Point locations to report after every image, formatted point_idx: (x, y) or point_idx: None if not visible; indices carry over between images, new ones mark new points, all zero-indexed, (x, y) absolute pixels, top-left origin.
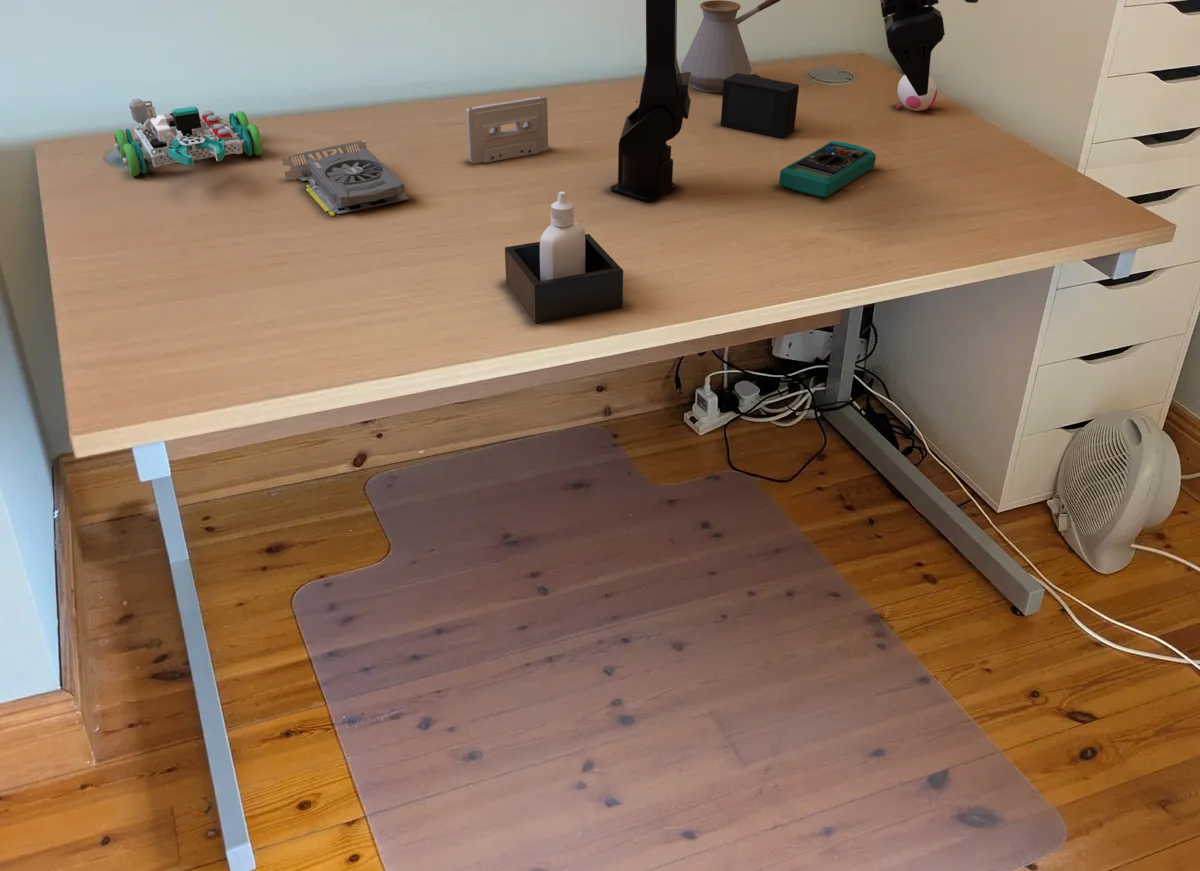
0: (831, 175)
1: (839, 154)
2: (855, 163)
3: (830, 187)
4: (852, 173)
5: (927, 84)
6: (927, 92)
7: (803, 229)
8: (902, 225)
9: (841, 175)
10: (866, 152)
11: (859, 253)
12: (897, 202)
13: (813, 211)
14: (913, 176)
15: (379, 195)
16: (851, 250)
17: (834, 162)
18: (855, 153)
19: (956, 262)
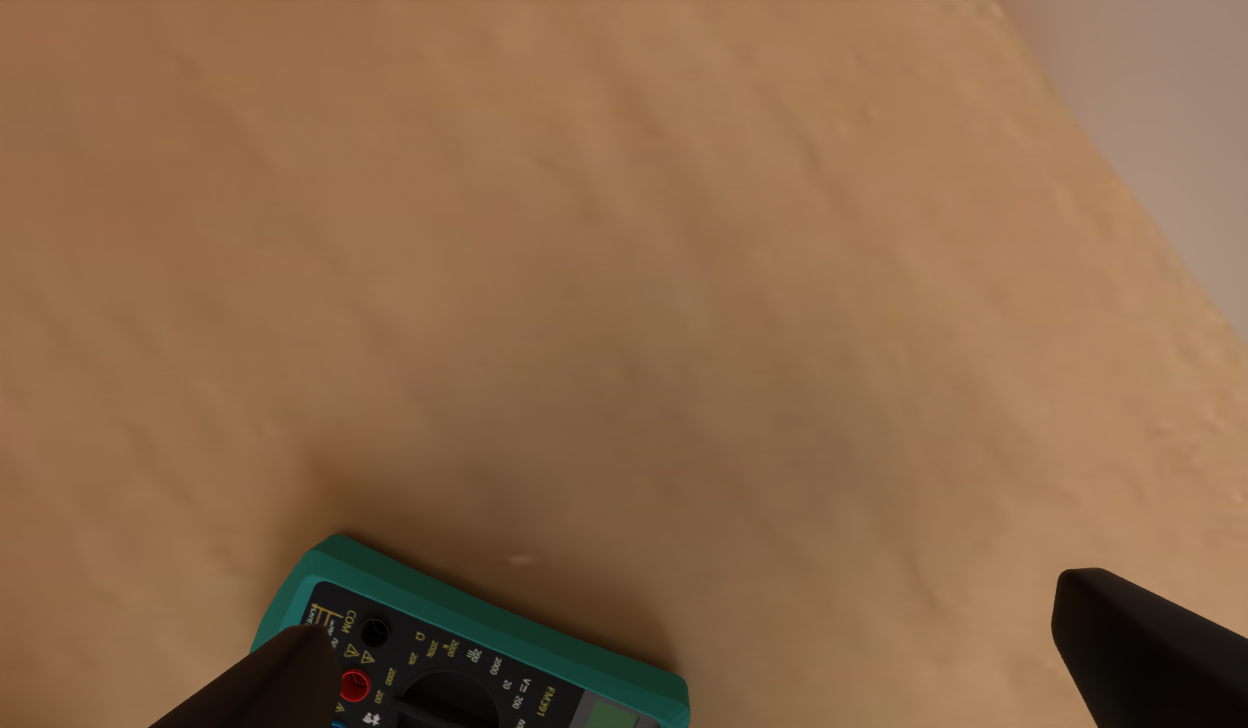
0: (596, 703)
1: (375, 694)
2: (455, 626)
3: (671, 688)
4: (493, 618)
5: (1215, 630)
6: (1108, 572)
7: (953, 722)
8: (832, 403)
9: (583, 666)
10: (316, 592)
11: (1106, 530)
12: (627, 429)
13: (790, 704)
14: (355, 383)
15: None
16: (1088, 557)
17: (430, 698)
18: (341, 633)
19: (1103, 212)
